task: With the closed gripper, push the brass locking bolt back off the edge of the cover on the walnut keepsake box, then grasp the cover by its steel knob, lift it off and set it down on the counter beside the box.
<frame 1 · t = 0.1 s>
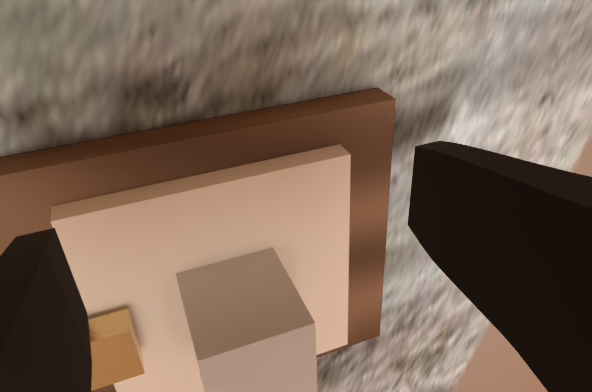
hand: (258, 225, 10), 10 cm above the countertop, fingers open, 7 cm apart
cover: (225, 281, 21), point 1 cm above the countertop, touching box base
box base: (129, 285, 21), on the countertop
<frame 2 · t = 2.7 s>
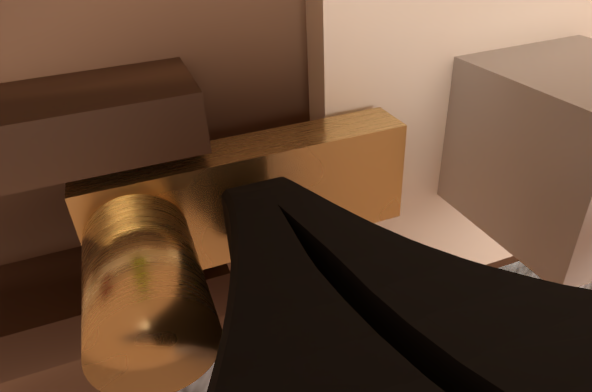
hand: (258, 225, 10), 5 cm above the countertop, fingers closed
brass bolt: (272, 231, 9), point 5 cm above the countertop, slide at 0.2 cm, touching gripper
cover: (481, 105, 14), point 1 cm above the countertop, touching box base
box base: (337, 112, 14), on the countertop
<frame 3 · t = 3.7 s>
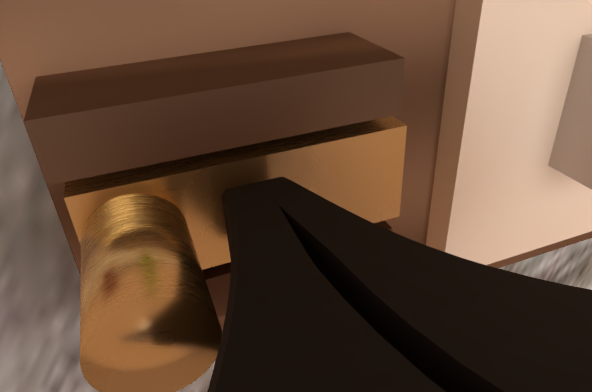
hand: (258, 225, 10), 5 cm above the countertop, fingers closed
brass bolt: (271, 231, 9), point 5 cm above the countertop, slide at 4.3 cm, touching gripper
cover: (587, 84, 15), point 1 cm above the countertop, touching box base
box base: (453, 90, 16), on the countertop
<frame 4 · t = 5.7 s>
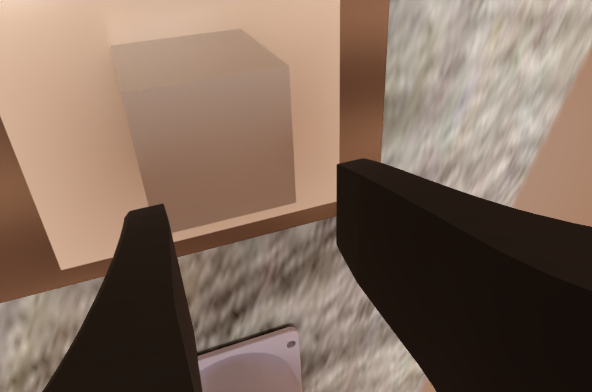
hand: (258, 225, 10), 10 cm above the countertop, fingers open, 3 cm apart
cover: (183, 89, 17), point 1 cm above the countertop, touching box base
box base: (61, 94, 17), on the countertop
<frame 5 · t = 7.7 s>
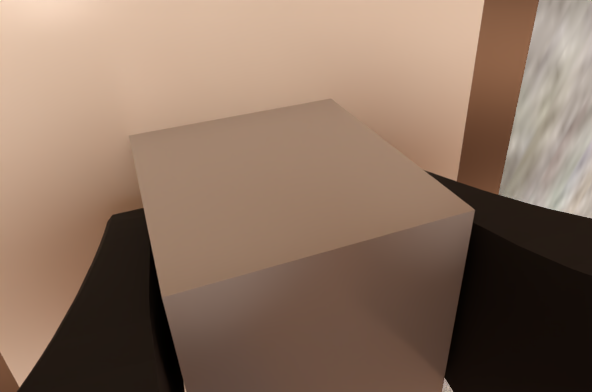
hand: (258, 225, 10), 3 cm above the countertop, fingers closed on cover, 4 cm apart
cover: (234, 181, 11), point 1 cm above the countertop, touching box base, gripper
box base: (51, 189, 11), on the countertop
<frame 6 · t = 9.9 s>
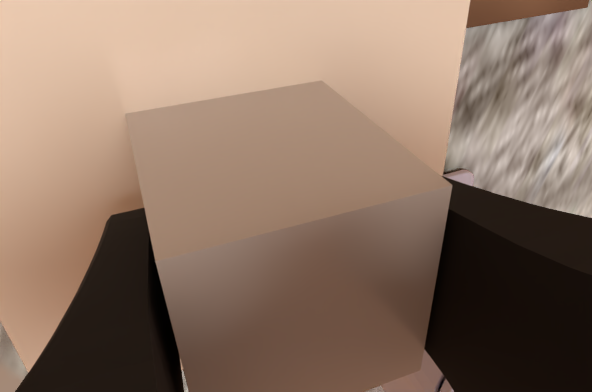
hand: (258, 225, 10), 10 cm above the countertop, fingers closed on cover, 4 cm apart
cover: (228, 161, 11), point 8 cm above the countertop, touching gripper
when the fingers open (3 cm above the countertop, at t = 12.2 s): cover drops 1 cm, on the countertop.
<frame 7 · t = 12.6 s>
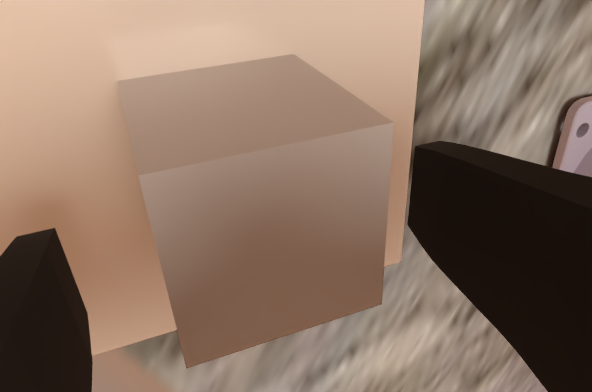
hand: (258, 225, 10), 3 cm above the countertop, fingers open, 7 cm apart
cover: (212, 132, 13), on the countertop
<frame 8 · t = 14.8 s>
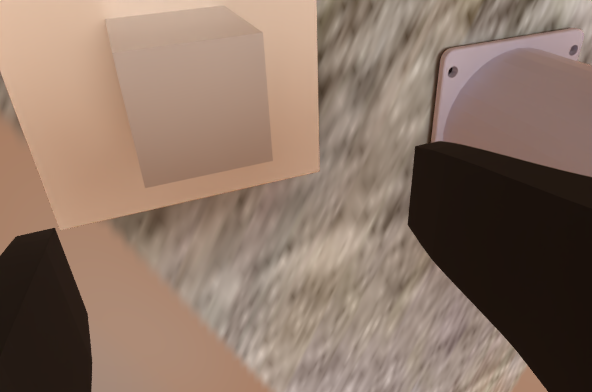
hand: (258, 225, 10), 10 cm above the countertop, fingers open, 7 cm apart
cover: (172, 62, 18), on the countertop
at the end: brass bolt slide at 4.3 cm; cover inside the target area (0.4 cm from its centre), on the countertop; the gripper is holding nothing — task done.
